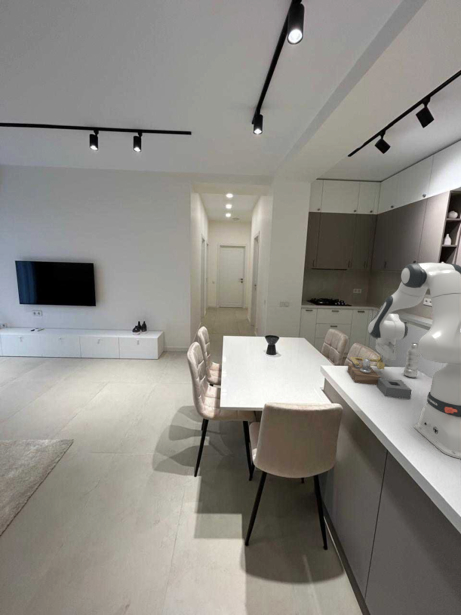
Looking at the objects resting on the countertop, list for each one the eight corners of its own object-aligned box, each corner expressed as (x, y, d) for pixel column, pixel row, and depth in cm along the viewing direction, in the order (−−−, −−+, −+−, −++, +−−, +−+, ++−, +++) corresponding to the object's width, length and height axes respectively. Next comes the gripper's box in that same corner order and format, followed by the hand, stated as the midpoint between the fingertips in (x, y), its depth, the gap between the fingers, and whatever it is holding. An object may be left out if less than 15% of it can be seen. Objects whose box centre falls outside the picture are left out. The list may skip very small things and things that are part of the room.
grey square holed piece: (410, 399, 124) (411, 390, 124) (385, 396, 126) (386, 387, 126) (399, 388, 135) (401, 380, 134) (377, 386, 137) (378, 377, 136)
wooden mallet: (390, 375, 146) (391, 363, 145) (354, 371, 149) (356, 360, 148) (382, 367, 157) (383, 356, 156) (349, 364, 160) (350, 353, 159)
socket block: (379, 385, 138) (380, 374, 137) (355, 382, 140) (356, 371, 139) (368, 373, 154) (370, 363, 153) (347, 371, 156) (348, 361, 155)
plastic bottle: (419, 379, 149) (425, 345, 145) (407, 378, 149) (413, 345, 145) (411, 374, 155) (417, 342, 152) (400, 373, 155) (405, 341, 152)
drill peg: (370, 382, 141) (373, 361, 139) (360, 381, 142) (363, 360, 140) (367, 378, 146) (370, 358, 144) (357, 377, 147) (360, 357, 145)
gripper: (401, 346, 139) (397, 370, 141) (385, 335, 159) (382, 357, 161) (388, 344, 140) (384, 369, 142) (374, 335, 160) (371, 356, 162)
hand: (383, 362), depth 152 cm, fingers closed
